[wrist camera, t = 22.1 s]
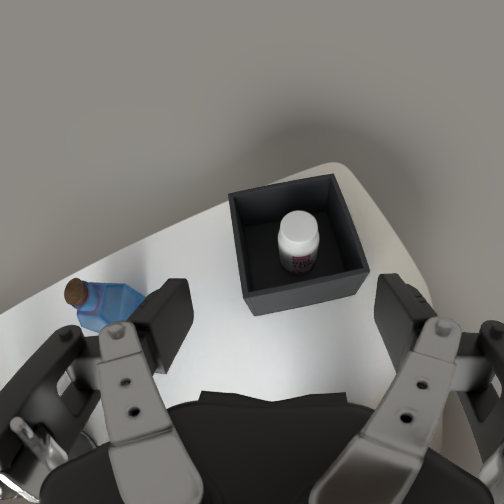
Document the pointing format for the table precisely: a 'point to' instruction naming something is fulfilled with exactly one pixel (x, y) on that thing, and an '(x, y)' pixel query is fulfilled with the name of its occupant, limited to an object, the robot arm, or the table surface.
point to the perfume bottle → (101, 302)
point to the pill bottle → (298, 242)
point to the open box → (267, 250)
